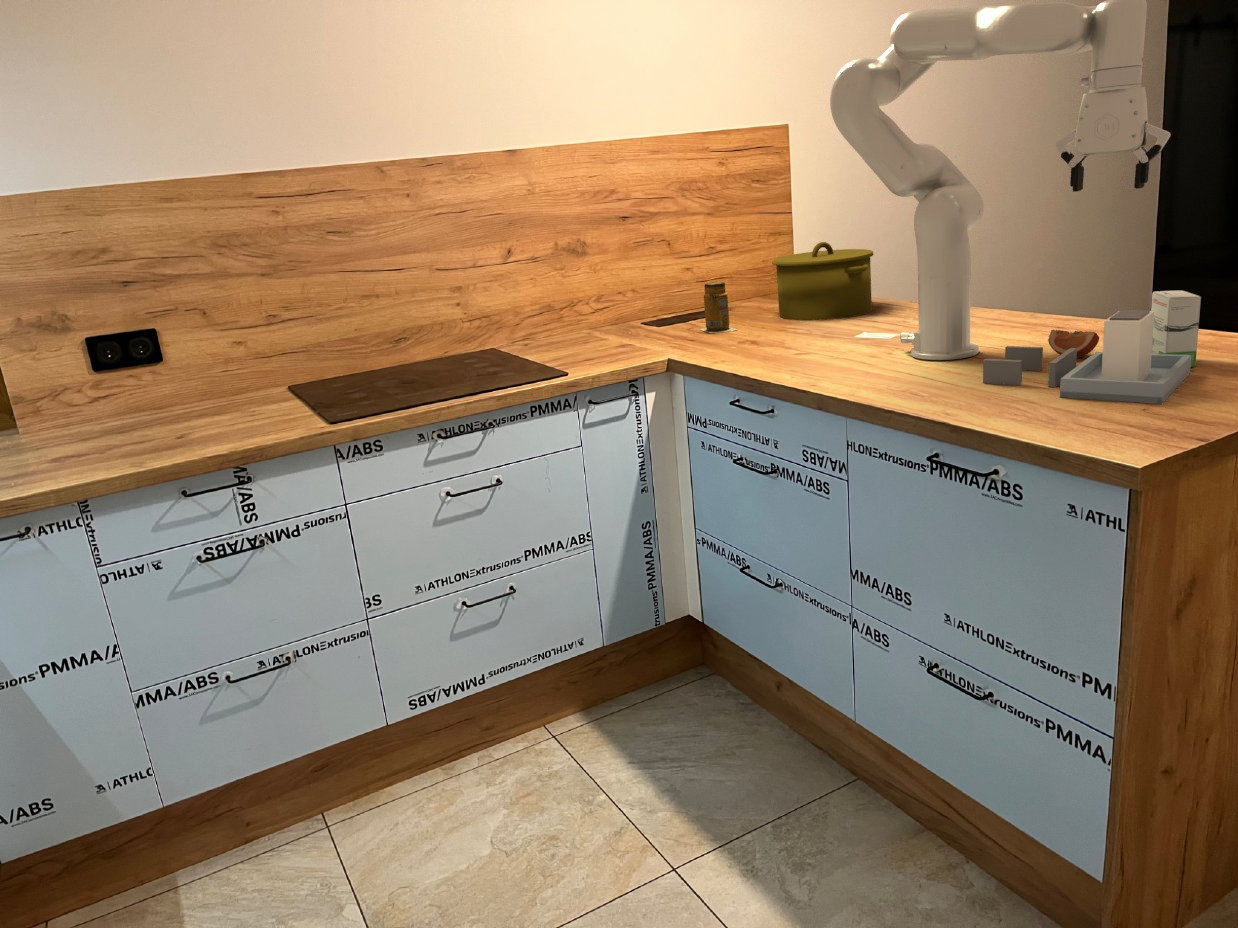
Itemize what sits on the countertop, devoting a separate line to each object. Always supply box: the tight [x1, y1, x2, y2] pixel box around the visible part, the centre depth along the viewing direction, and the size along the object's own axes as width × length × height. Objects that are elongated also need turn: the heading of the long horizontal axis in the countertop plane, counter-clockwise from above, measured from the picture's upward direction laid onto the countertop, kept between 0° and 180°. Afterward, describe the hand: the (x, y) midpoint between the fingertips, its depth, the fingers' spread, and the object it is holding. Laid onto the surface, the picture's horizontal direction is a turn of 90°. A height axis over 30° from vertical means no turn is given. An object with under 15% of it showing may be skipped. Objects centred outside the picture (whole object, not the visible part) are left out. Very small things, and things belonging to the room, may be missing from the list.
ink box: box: [1150, 290, 1202, 368], centre depth 154 cm, size 9×5×12 cm, turn 169°
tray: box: [1059, 351, 1192, 405], centre depth 145 cm, size 14×20×3 cm
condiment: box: [700, 281, 738, 334], centre depth 234 cm, size 7×8×12 cm
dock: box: [982, 345, 1078, 388], centre depth 156 cm, size 12×12×4 cm
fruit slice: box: [1047, 329, 1100, 359], centre depth 167 cm, size 8×7×5 cm
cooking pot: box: [771, 241, 874, 322], centre depth 242 cm, size 30×26×18 cm
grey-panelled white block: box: [1101, 309, 1154, 381], centre depth 144 cm, size 5×9×10 cm, turn 140°
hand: (1107, 189), depth 156 cm, fingers open, 9 cm apart
